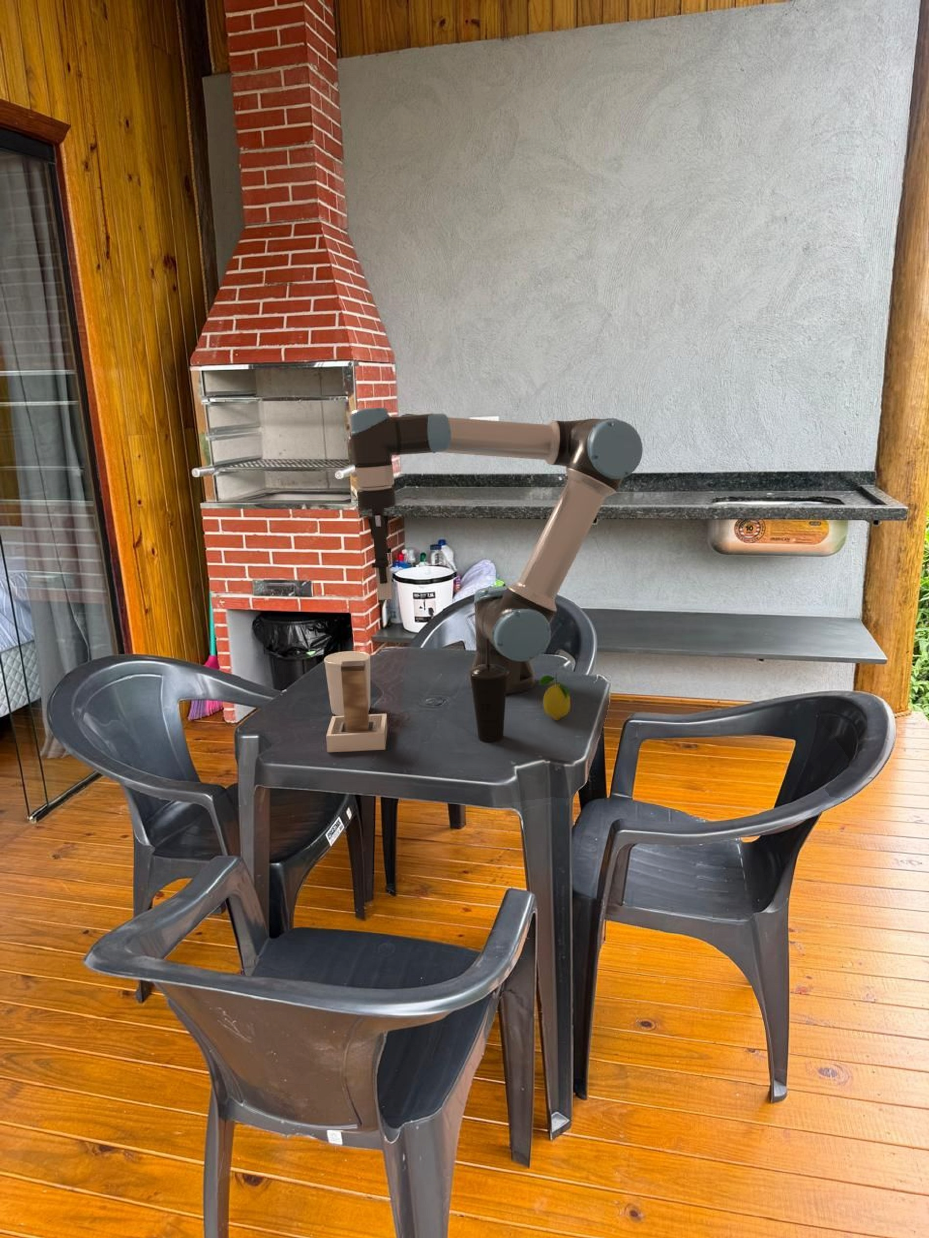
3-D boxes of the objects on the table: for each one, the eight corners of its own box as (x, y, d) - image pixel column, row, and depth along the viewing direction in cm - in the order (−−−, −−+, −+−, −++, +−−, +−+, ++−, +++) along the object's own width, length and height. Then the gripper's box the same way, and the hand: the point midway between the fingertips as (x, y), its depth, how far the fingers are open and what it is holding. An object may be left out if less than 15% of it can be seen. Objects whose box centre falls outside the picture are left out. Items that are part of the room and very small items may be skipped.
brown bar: (369, 732, 176) (365, 660, 172) (368, 739, 172) (363, 665, 169) (347, 733, 176) (342, 661, 172) (346, 740, 172) (340, 666, 169)
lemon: (539, 715, 184) (538, 669, 182) (566, 713, 185) (566, 667, 182) (544, 726, 178) (543, 679, 175) (573, 724, 178) (572, 677, 176)
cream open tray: (387, 728, 180) (386, 713, 179) (385, 749, 169) (384, 733, 168) (333, 731, 179) (332, 716, 179) (327, 752, 169) (326, 736, 168)
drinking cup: (471, 730, 177) (468, 634, 172) (509, 730, 177) (507, 633, 172) (470, 745, 170) (466, 644, 165) (510, 744, 169) (507, 643, 164)
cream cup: (365, 719, 186) (361, 664, 183) (321, 717, 188) (317, 663, 185) (379, 703, 195) (375, 651, 192) (337, 702, 197) (333, 650, 194)
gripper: (358, 483, 187) (367, 581, 193) (354, 495, 163) (365, 607, 168) (393, 480, 188) (402, 578, 193) (395, 492, 164) (404, 603, 169)
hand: (385, 592), depth 181 cm, fingers open, 13 cm apart
